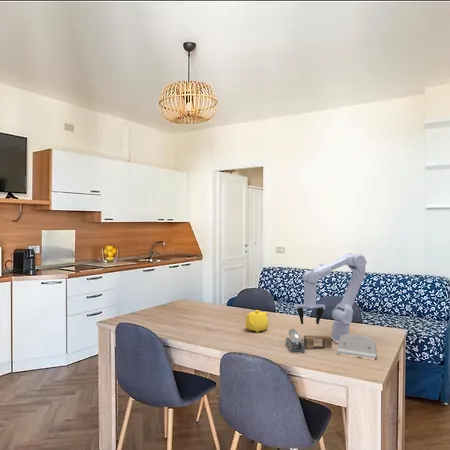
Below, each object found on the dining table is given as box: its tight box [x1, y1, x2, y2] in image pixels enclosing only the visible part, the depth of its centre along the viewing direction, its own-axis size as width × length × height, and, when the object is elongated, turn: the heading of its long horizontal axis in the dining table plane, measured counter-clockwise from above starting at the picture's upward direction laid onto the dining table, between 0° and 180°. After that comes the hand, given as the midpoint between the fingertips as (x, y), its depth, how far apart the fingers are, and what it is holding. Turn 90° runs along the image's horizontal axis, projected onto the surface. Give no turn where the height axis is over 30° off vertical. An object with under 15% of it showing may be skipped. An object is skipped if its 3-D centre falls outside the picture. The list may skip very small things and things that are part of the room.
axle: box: [288, 328, 303, 346], centre depth 178 cm, size 10×4×4 cm, turn 3°
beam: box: [303, 335, 333, 350], centre depth 179 cm, size 4×12×5 cm, turn 93°
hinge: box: [336, 333, 378, 359], centre depth 170 cm, size 17×5×10 cm, turn 64°
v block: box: [285, 337, 306, 353], centre depth 178 cm, size 12×6×3 cm, turn 3°
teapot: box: [245, 309, 270, 334], centre depth 207 cm, size 18×11×11 cm, turn 135°
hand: (309, 323), depth 186 cm, fingers open, 7 cm apart
